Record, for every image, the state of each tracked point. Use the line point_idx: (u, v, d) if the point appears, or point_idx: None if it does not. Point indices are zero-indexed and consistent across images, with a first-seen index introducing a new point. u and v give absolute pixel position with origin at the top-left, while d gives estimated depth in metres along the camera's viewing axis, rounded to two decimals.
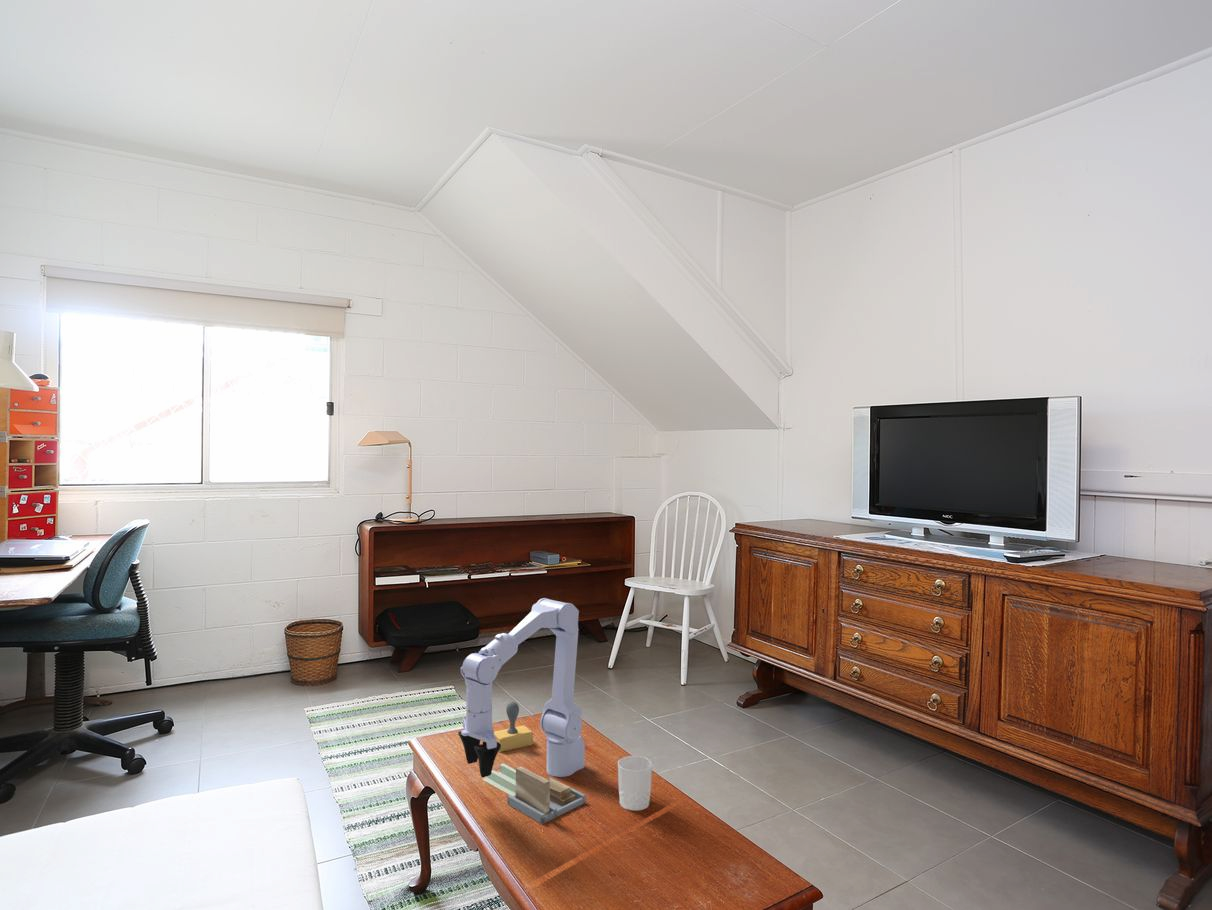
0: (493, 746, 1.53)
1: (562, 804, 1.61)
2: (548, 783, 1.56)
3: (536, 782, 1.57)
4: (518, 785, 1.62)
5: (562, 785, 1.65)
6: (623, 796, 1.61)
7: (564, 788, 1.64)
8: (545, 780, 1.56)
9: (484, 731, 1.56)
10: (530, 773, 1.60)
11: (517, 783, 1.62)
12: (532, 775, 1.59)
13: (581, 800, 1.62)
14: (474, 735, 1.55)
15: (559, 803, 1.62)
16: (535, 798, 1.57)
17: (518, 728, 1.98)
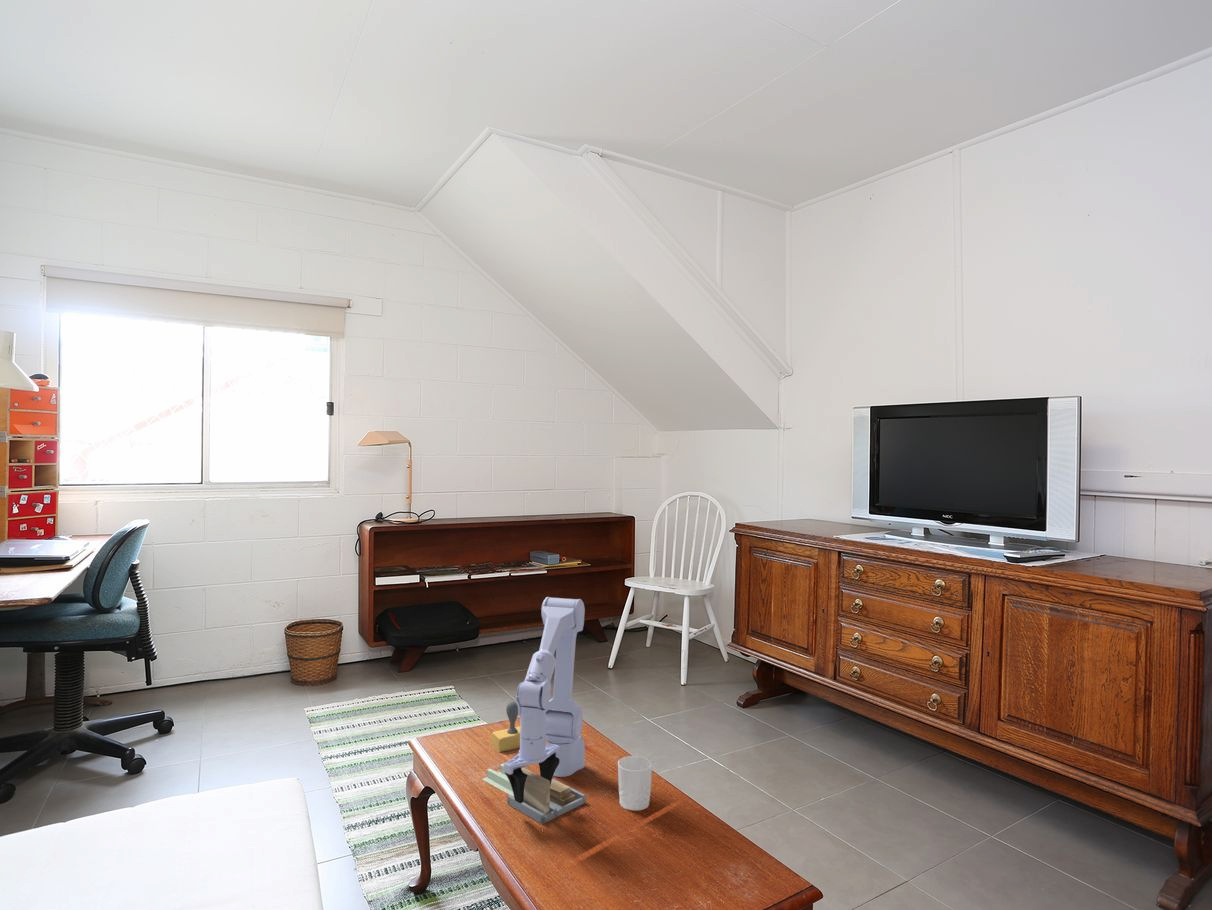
0: (507, 772, 1.54)
1: (562, 804, 1.61)
2: (548, 783, 1.56)
3: (536, 782, 1.57)
4: None
5: (562, 785, 1.65)
6: (623, 796, 1.61)
7: (564, 788, 1.64)
8: (545, 780, 1.56)
9: (522, 757, 1.57)
10: (530, 773, 1.60)
11: None
12: (532, 775, 1.59)
13: (581, 800, 1.62)
14: None
15: (559, 803, 1.62)
16: (535, 798, 1.57)
17: (518, 728, 1.98)
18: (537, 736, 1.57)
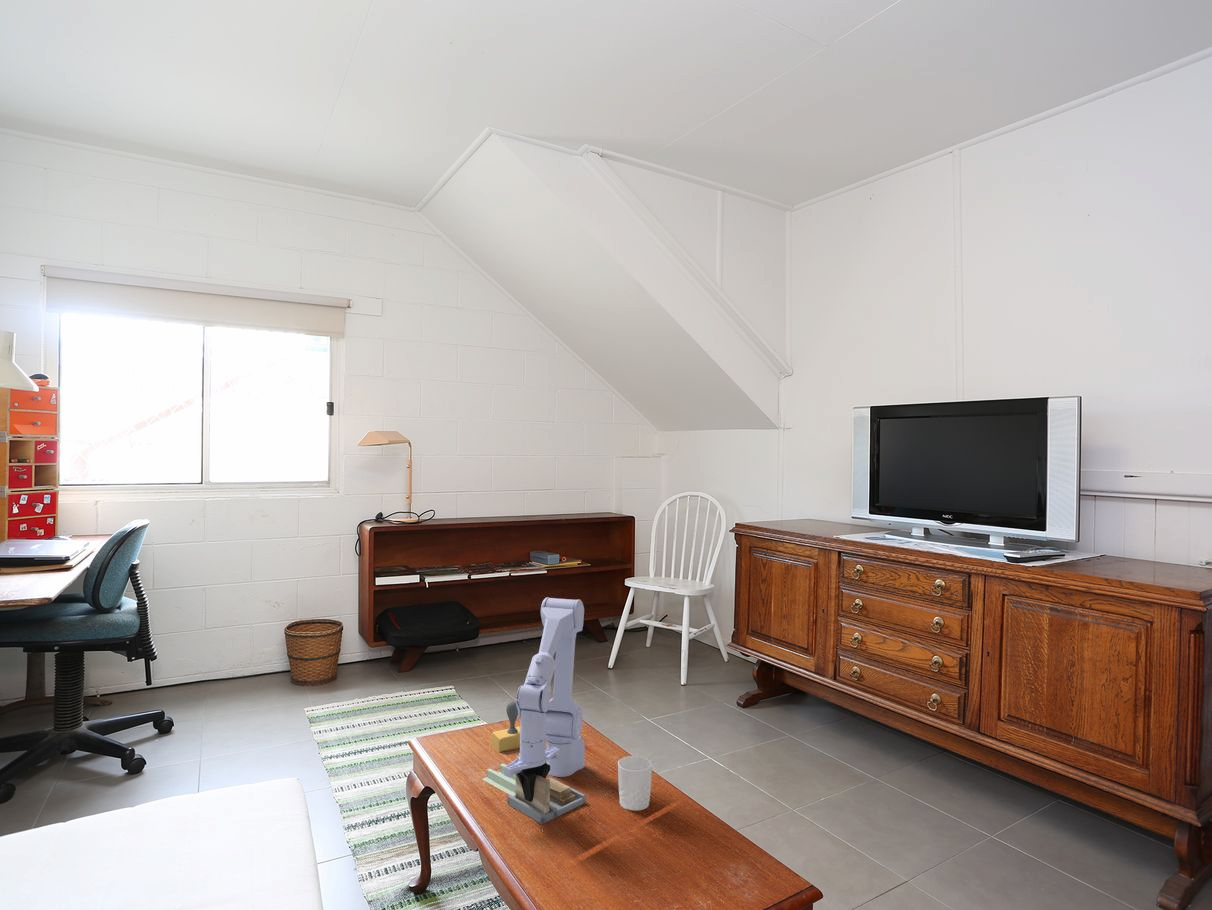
0: (507, 775, 1.54)
1: (562, 804, 1.61)
2: (548, 783, 1.56)
3: (536, 782, 1.57)
4: (518, 785, 1.62)
5: (562, 785, 1.65)
6: (623, 796, 1.61)
7: (564, 788, 1.64)
8: (545, 780, 1.56)
9: (522, 760, 1.57)
10: None
11: (517, 783, 1.62)
12: None
13: (581, 800, 1.62)
14: None
15: (559, 803, 1.62)
16: (535, 798, 1.57)
17: (518, 728, 1.98)
18: (537, 739, 1.57)
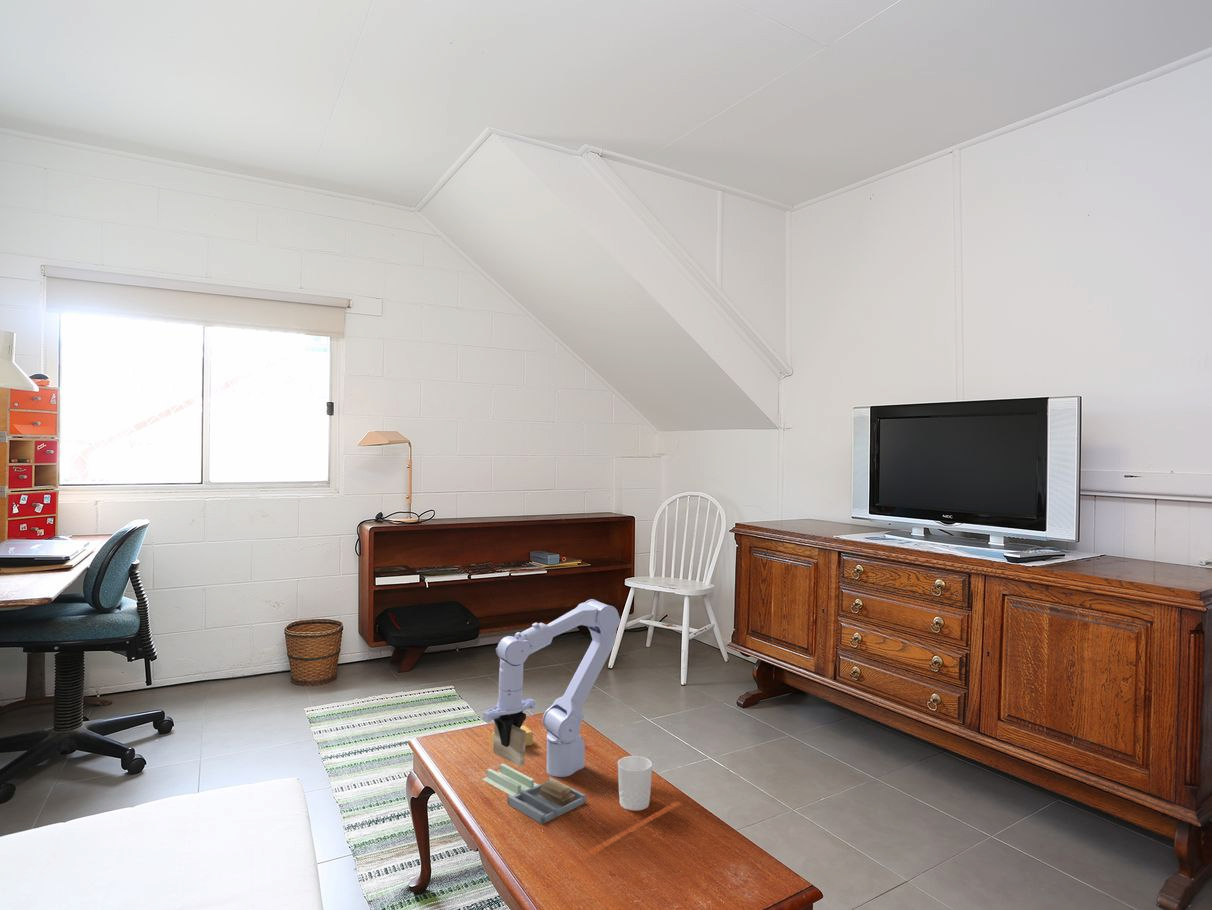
0: (485, 719, 1.66)
1: (562, 804, 1.61)
2: (524, 733, 1.68)
3: (513, 732, 1.69)
4: (496, 736, 1.73)
5: (562, 785, 1.65)
6: (623, 796, 1.61)
7: (564, 788, 1.64)
8: (521, 730, 1.68)
9: (500, 707, 1.69)
10: None
11: (495, 734, 1.74)
12: None
13: (581, 800, 1.62)
14: None
15: (559, 803, 1.62)
16: (511, 747, 1.69)
17: None
18: (505, 688, 1.69)
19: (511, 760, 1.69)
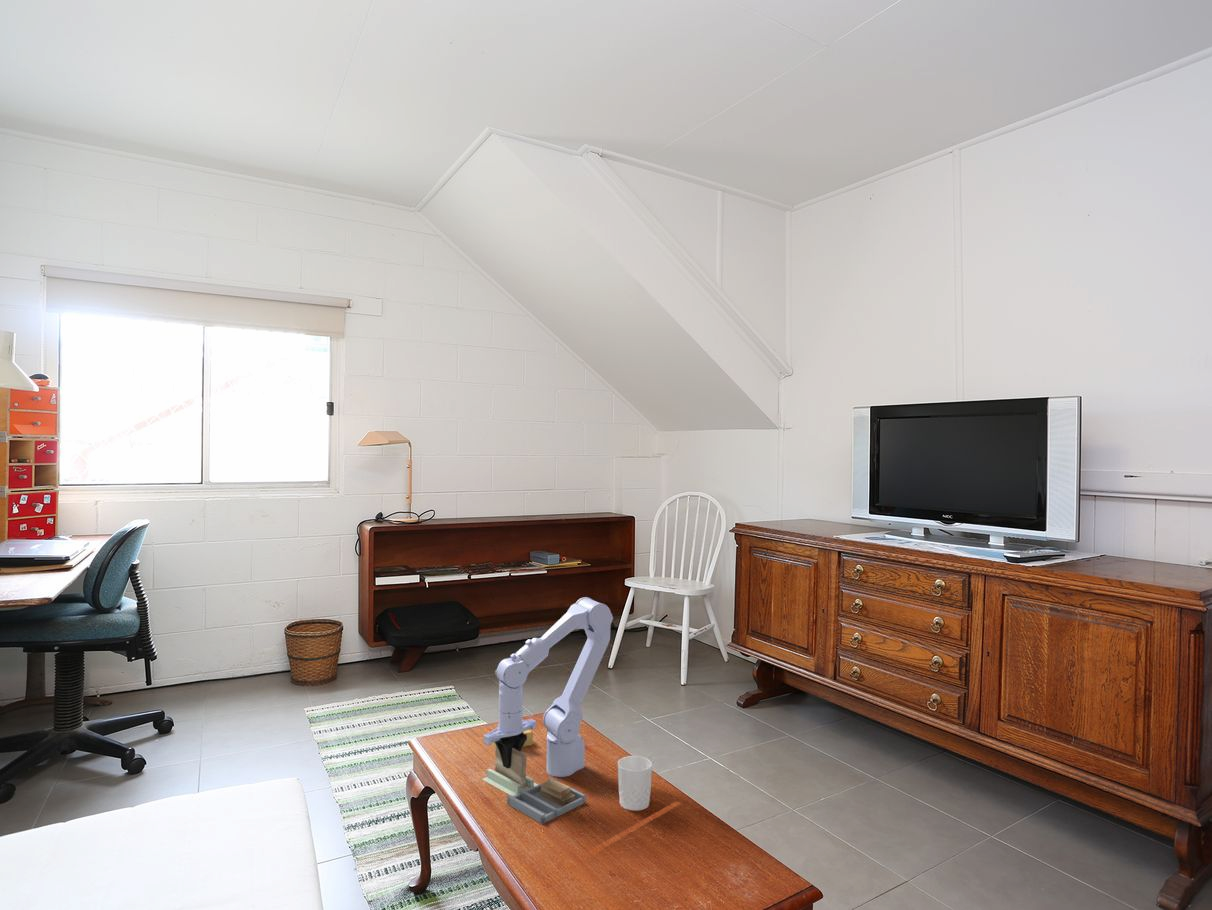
0: (486, 743, 1.67)
1: (562, 804, 1.61)
2: (525, 757, 1.69)
3: (514, 756, 1.70)
4: (498, 759, 1.75)
5: (562, 785, 1.65)
6: (623, 796, 1.61)
7: (564, 788, 1.64)
8: (522, 754, 1.69)
9: (501, 730, 1.70)
10: None
11: (497, 757, 1.75)
12: None
13: (581, 800, 1.62)
14: None
15: (559, 803, 1.62)
16: (513, 770, 1.70)
17: None
18: (505, 710, 1.70)
19: None
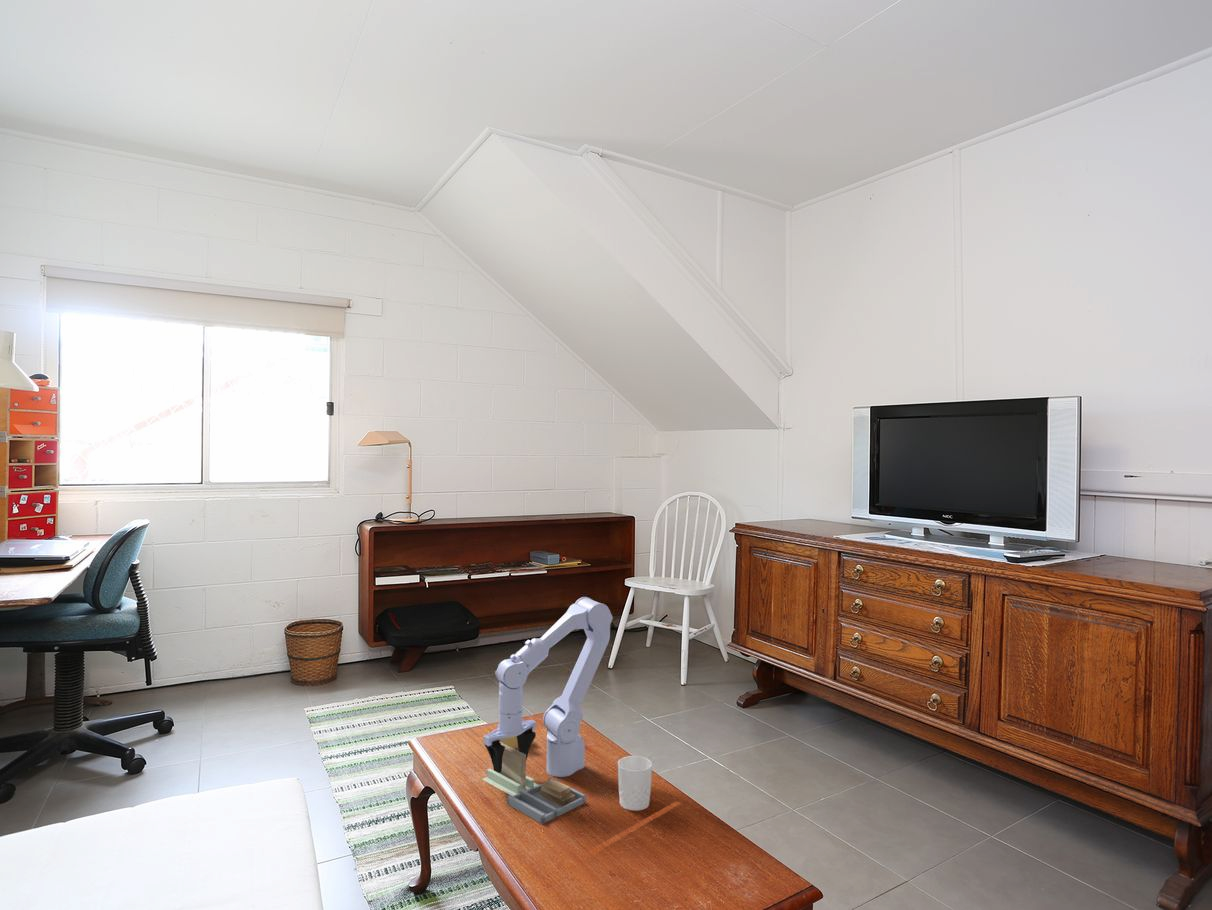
0: (486, 743, 1.67)
1: (562, 804, 1.61)
2: (524, 757, 1.69)
3: (513, 756, 1.70)
4: None
5: (562, 785, 1.65)
6: (623, 796, 1.61)
7: (564, 788, 1.64)
8: (522, 754, 1.70)
9: (501, 731, 1.70)
10: (508, 748, 1.73)
11: None
12: (510, 750, 1.72)
13: (581, 800, 1.62)
14: None
15: (559, 803, 1.62)
16: (513, 771, 1.70)
17: None
18: (505, 711, 1.70)
19: None
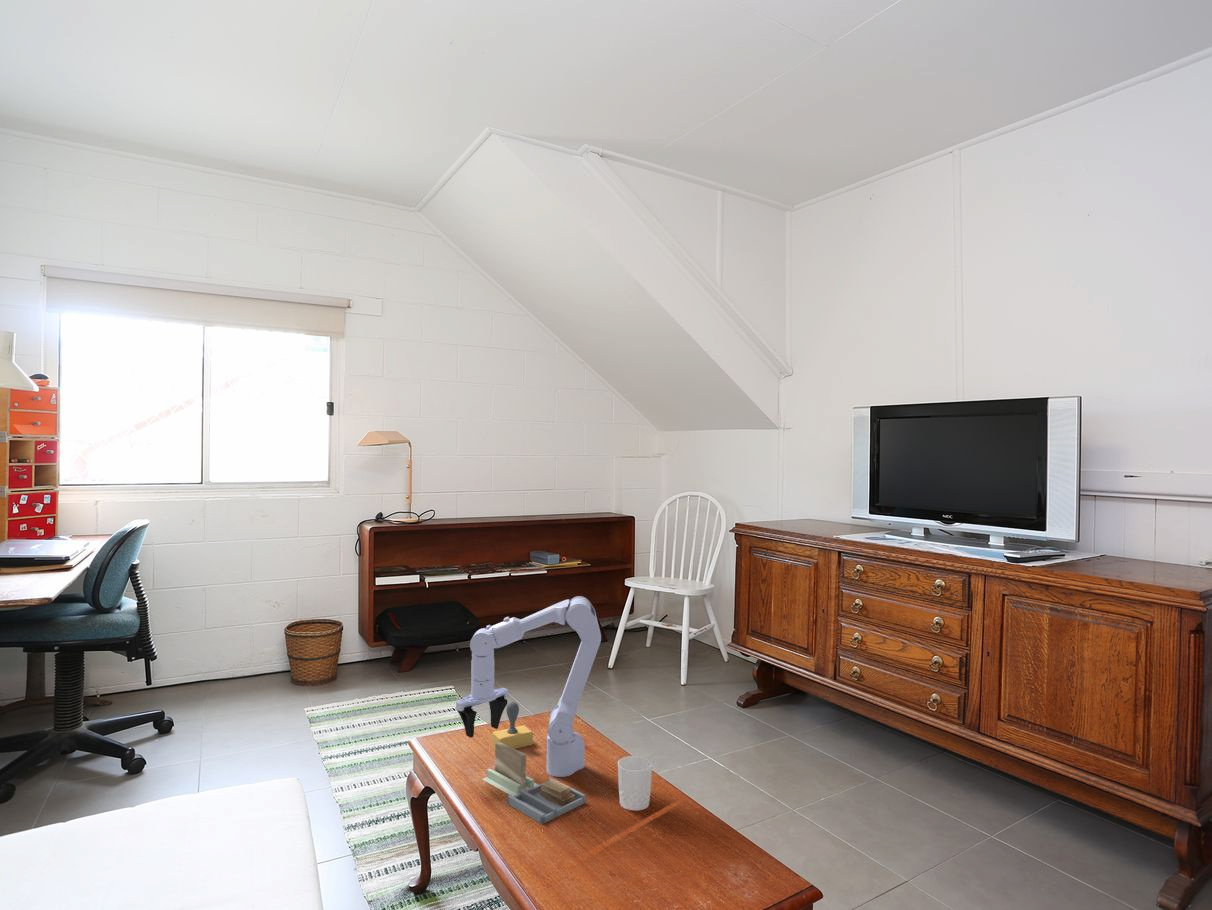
0: (458, 709, 1.73)
1: (562, 804, 1.61)
2: (524, 757, 1.69)
3: (513, 756, 1.70)
4: (497, 759, 1.75)
5: (562, 785, 1.65)
6: (623, 796, 1.61)
7: (564, 788, 1.64)
8: (522, 754, 1.70)
9: (473, 697, 1.76)
10: (508, 748, 1.73)
11: (496, 757, 1.75)
12: (510, 750, 1.72)
13: (581, 800, 1.62)
14: None
15: (559, 803, 1.62)
16: (513, 771, 1.70)
17: (518, 728, 1.98)
18: (473, 677, 1.77)
19: None
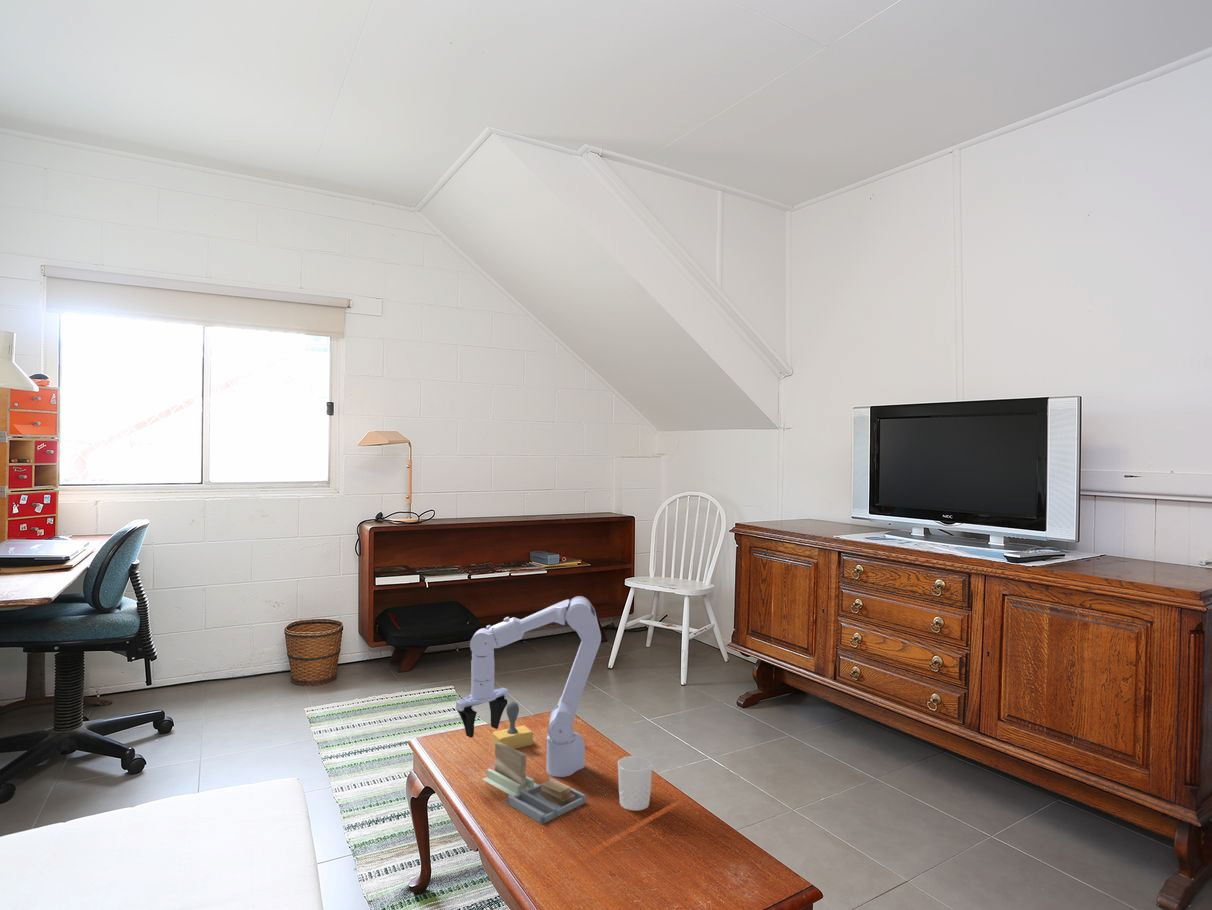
0: (458, 709, 1.73)
1: (562, 804, 1.61)
2: (524, 757, 1.69)
3: (513, 756, 1.70)
4: (497, 759, 1.75)
5: (562, 785, 1.65)
6: (623, 796, 1.61)
7: (564, 788, 1.64)
8: (522, 754, 1.70)
9: (473, 697, 1.76)
10: (508, 748, 1.73)
11: (496, 757, 1.75)
12: (510, 750, 1.72)
13: (581, 800, 1.62)
14: None
15: (559, 803, 1.62)
16: (513, 771, 1.70)
17: (518, 728, 1.98)
18: (473, 677, 1.77)
19: None
